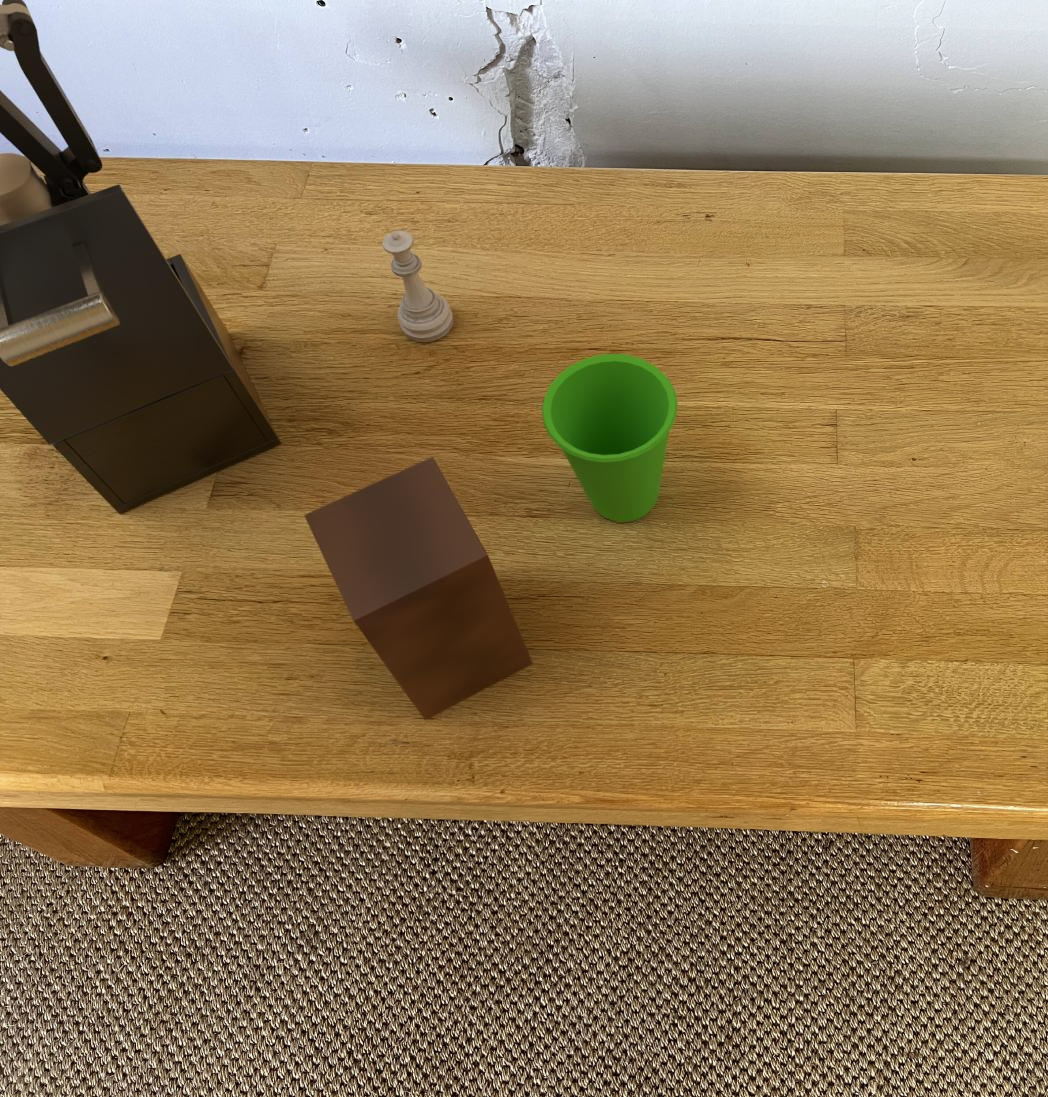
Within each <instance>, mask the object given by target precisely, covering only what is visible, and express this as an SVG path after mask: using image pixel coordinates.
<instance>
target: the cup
mask: <svg viewBox="0 0 1048 1097" xmlns="http://www.w3.org/2000/svg"><path fill="white" fill-rule="evenodd" d="M677 398H678V397H677V394H676V389H675V388H674V386H673V384H672V382H671V380H670V379H669V378H668V376H667V375H665V373H663V372H662V370H660V369H659V368H658V366H655V365H654V364H652V363H651V362H648V361H647V360H645V359H643V358H639V357H637V356H634V355H630V354H621V353H607V354H597V355H593V356H590V357H586V358H584V359H581V360H579V361H576V362H575V363H573V364H570V366H568V367H567V368H566V369H564V370H562V372H560V373H559V374H558V375H557V377H556V378H555V379H554V380H553V381H552V382H551V384H549V387H548V389H547V392H546V393H545V396H544V398H543V402H542V407H541V408H542V409H541V415H542V416H541V417H542V423H543V426H544V428H545V430H546V432H547V435H548V437H549V438H550V439H551V440H552V441H553V442H554V443H555V445H557V446H558V447H559V448H560V449H561V450H562V453H563V454H564V456H565V458H566V459H567V461H568V463H569V465H570V467H571V469H572V470H573V472H574V475H575V476H576V478H577V480H578V482H579V484H580V485H581V487H582V489H583V491H584V493H585V495H586V497H587V498H588V500H589V502H590V504H591V506H592V508H593V509H594V510H595V511H596V513H597V514H599V515H600V516H602V517H604V518H605V519H607V520H610V521H612V522H616V523H617V522H618V523H630V522H634V521H637V520H639V519H641V518H644V517H645V516H646V515H647V514H648V513H649V512H650V511H651V510H652V509H653V508H654V506H655V505H656V504H657V501H658V498H659V495H660V490H661V489H660V488H661V482H662V478H663V470H664V464H665V458H666V453H667V446H668V439H669V434H670V431H671V429H672V428H673V426H674V423H675V420H676V418H677V415H678V403H679V402H678V399H677Z"/></svg>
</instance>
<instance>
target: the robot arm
mask: <svg viewBox="0 0 1048 1097" xmlns="http://www.w3.org/2000/svg"><path fill="white" fill-rule="evenodd" d="M0 48H1V49H4V50H6V51H8V52H13V53H14V56H15V58H16V60H17V63H18V65H19V67H20V69H21V71H22V73H23V75H24V76H25V78H26V80H27V81H28V83H29V84H30V86H31V88H32V89H33V91H34V92H35V94H36V96H37V97H38V99H39V101H40V102H41V105H42V106H43V107H44V109H45V111H46V112H47V114H48V115H49V117H50V119H51V121H52V122H53V124H54V125H55V127H56V129H57V131H58V132H59V134H60V135H61V137H62V139H63V140H64V142H65V143H66V145H67V147H66V148H64V149H63V150H61V149H60V147H59V146H57V145H56V143H54V141H52V140H51V139H50V138H49V136H47V135H46V134H45V133H44V132H43V131H42V130H41V129H40V128H39V127H38V126H37V125H36V124H35V123H34V122H33V121H32V120H31V119H30V118H29V117H28V116H27V115H26V114H25V113H24V112H23V111H22V110H21V109H20V108H19V107H18V106H17V105H16V104H15V103H14V102H13V101H12V100H11V99H10V98H9V97H8V96H7V95H6V94H5V93H4V92H3V91H2V90H1V89H0V134H1V135H2V136H3V137H4V138H5V139H6V140H7V141H8V142H9V143H10V144H12V146H13V147H15V148H16V149H17V151H19V153H21V155H22V156H24V157H26V158H27V159H28V160H29V161H30V162H31V163H32V165H33V166H34V167H36V168H37V169H38V170H39V171H40V172H41V173H42V174H44V175H43V177H42V178H43V180H44V182H45V183H46V184H47V186H48V188H49V191H50V194H51V197H52V200H53V202H54V203H55V204H56V206H58V205H61V204H64V203H67V202H69V201H72V200H75V199H78V198H81V197H84V196H87V195H89V194H92V192H91V191H90V188H88V186H87V185H86V183H85V182H84V179H85V177H87V175H89V174H96V173H98V172H100V171H101V170H102V169H103V162H102V160H101V157H100V155H99V152H98V150H97V148H96V146H95V143H94V142H93V140H92V138H91V136H90V134H89V133H88V131H87V129H86V127H85V126H84V124H83V122H82V120H81V119H80V117H79V115H78V114H77V111H76V110H75V108H74V106H73V105H72V104H71V102H70V100H69V98H68V97H67V94H66V92H65V91H64V90H63V88H62V86H61V84H60V82H59V81H58V79H57V78H56V75H55V74H54V72H53V70H52V69H51V67H50V66H49V64H48V62H47V60H46V58H45V57H44V55H43V54H42V52H41V47H40V42H39V36H38V30H37V26H36V24H35V22H34V20H33V17H32V15H31V12H30V11H29V8H28V6H27V4H26V2H25V1H24V0H2V2H1V4H0Z"/></svg>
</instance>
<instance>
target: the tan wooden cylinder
mask: <svg viewBox="0 0 1048 1097" xmlns="http://www.w3.org/2000/svg"><path fill="white" fill-rule="evenodd" d="M55 206H56V204H55V203H54V202H53V200H52V197H51V194H50V191H49V188H48V186H47V184H46V182H45V179H44V178H43V177H42V176H41V175H40V173H39V172H38V170H37V169H36V168H35V165H34V164H33V163H32V162H31V161H30V160H29V159H28V158H26V157H25V156H24V155H23V154H19V153H13V152H4V153H3V152H2V153H0V226H1V225H4V224H7V223H10V222H12V221H15V220H18V219H21V218H24V217H27V216H29V215H32V214H35V213H38V212H41V211H44V210H47V209H49V208H52V207H55Z"/></svg>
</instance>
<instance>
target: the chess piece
mask: <svg viewBox="0 0 1048 1097" xmlns="http://www.w3.org/2000/svg"><path fill="white" fill-rule="evenodd" d="M414 242H415V241H414V237H413V236H412V234H411V233H410V232H408V231H405V230H393V231H391V232H389V233H388V234H387V235H385V236H384V237H383V239H382V242H381V243H382V248H383V250H384V251H385V252H387V253H388V254H390V255H392V256H393V258H392V259H391V261H390V269H391V271H392V273H393V274H394V275H395V276H397V277H399V278H401V279H402V281H403V285H404V286H403V287H404V294H403V295H402V297H401V303H400V305H399V307H398V310H397V320H398V322H399V326H400V329H401V331H402V333H403V334H404V335H405V337H406V338H408V339H409V340H411V341H414V342H417V343H428V342H429V343H430V342H433V341H438V340H439V339H441V338H443V337H445V335H447V334H448V333H449V332H450V330H451V329H452V328H453V325H454V315H453V312H452V309H451V307H450V305H449V302H448V300H447V299H446V298H445V297H443V296H442V295H440V294H439V293H437V292H435V291H434V290H433V289H432V288H430V287H428V286H426V285H425V284H424V282H423V280H422V279H421V276H420V274H419V272H420V271H421V269H422V265H423V263H422V260H421V257H420V256H419V255H418V254H416V253H413V252H412V251H411V249H412V248H413V247H414Z"/></svg>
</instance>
